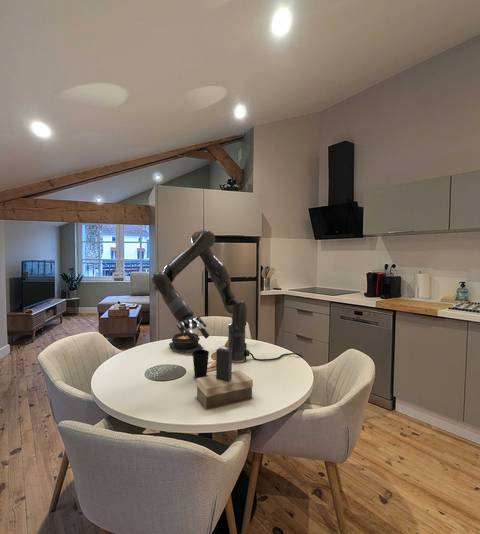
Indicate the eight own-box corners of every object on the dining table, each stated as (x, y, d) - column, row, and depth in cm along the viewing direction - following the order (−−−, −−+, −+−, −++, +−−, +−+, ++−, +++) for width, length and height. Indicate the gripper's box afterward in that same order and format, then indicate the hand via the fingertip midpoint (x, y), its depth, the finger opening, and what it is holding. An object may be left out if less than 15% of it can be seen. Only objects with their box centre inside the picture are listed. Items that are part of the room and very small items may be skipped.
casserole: (210, 350, 186) (210, 337, 186) (184, 358, 174) (184, 343, 174) (186, 341, 205) (186, 329, 204) (161, 347, 192) (161, 334, 192)
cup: (211, 375, 150) (211, 350, 149) (205, 381, 143) (205, 355, 142) (196, 373, 153) (196, 348, 152) (189, 379, 145) (189, 353, 145)
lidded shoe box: (239, 388, 136) (239, 370, 136) (252, 399, 126) (252, 379, 126) (196, 397, 127) (196, 378, 127) (206, 409, 117) (206, 389, 117)
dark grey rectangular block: (220, 376, 129) (220, 347, 128) (232, 379, 126) (232, 349, 126) (216, 379, 126) (216, 349, 126) (228, 381, 123) (228, 352, 123)
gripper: (174, 306, 128) (197, 338, 123) (194, 302, 141) (216, 330, 136) (164, 318, 131) (186, 349, 126) (185, 312, 144) (206, 340, 139)
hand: (202, 339), depth 131 cm, fingers open, 8 cm apart
